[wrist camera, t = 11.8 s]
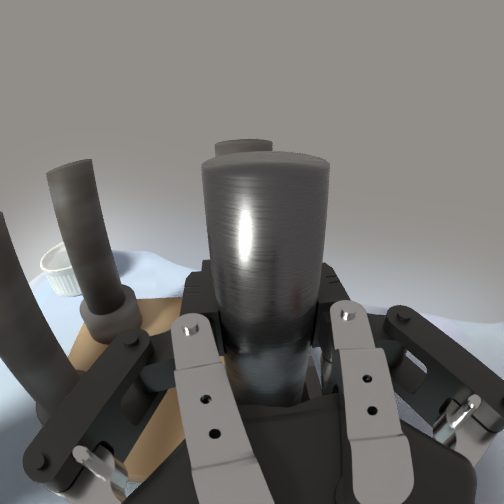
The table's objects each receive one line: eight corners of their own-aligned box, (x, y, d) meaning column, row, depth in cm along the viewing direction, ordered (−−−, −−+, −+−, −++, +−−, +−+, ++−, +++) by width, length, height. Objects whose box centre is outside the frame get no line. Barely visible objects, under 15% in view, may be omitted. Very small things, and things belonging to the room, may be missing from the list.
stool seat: (50, 461, 12) (-100, 275, 4) (101, 314, 27) (55, 163, 19) (326, 474, 13) (443, 239, 5) (283, 306, 28) (288, 135, 20)
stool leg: (236, 449, 13) (195, 181, 6) (233, 400, 16) (205, 154, 9) (300, 442, 13) (350, 175, 6) (290, 394, 16) (309, 150, 9)
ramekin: (67, 264, 36) (58, 238, 34) (118, 260, 37) (110, 232, 34) (41, 301, 28) (28, 272, 26) (97, 300, 29) (85, 268, 27)
